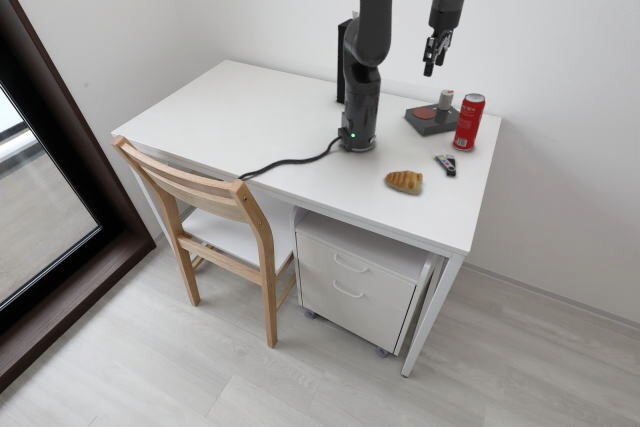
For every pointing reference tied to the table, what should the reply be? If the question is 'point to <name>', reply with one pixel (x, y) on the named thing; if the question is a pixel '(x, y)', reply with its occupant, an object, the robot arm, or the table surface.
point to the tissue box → (340, 73)
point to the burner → (424, 113)
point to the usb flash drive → (447, 164)
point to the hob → (434, 120)
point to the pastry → (405, 181)
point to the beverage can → (469, 121)
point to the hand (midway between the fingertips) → (433, 70)
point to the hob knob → (445, 99)
